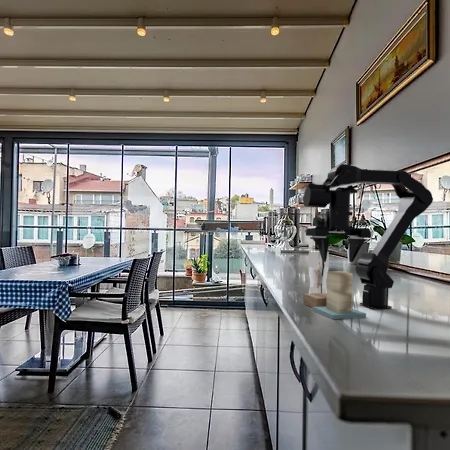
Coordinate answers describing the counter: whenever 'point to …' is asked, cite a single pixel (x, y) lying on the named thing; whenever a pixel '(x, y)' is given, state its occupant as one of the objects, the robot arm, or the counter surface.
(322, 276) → the beer glass
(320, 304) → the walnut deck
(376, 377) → the counter surface
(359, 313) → the teal mat
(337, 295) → the maple block
